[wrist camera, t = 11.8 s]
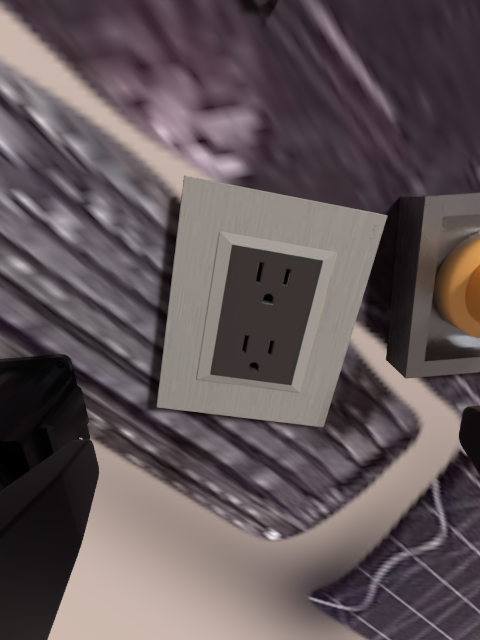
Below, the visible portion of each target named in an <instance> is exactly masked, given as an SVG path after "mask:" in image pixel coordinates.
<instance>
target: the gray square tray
mask: <svg viewBox="0 0 480 640" xmlns="http://www.w3.org/2000/svg"><path fill="white" fill-rule="evenodd" d="M479 232H480V192H467V193H451V194H436V195H421V196H406V197H400V206H399V217H398V229H397V240H396V251H395V263H394V274H393V286H392V297H391V309H390V320H389V332H388V343H387V355H386V360H387V361H388V362H389V363H390V364H391V365H392V366H393V367H394V368H395V369H396V370H397V371H398V372H400V373H401V374H402V375H403V376H404V377H405V378H416V377H428V376H440V375H452V374H464V373H476V372H480V339H479V338H476V337H473V336H471V335H469V334H467V333H465V332H463V331H462V330H460V329H458V328H456V327H454V326H453V325H451V324H449V323H448V322H447V321H446V320H445V319H444V318H443V317H442V316H441V314H440V313H439V311H438V309H437V306H436V303H435V297H434V287H435V281H436V278H437V274H438V272H439V269H440V267H441V265H442V264H443V262H444V260H445V259H446V257H447V256H448V255H449V254H450V252H451V251H452V250H453V249H454V248H455V247H456V246H457V245H459V244H460V243H461V242H462V241H464V240H465V239H467V238H469V237H470V236H472V235H474V234H477V233H479Z"/></svg>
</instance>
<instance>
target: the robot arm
mask: <svg viewBox="0 0 480 640" xmlns="http://www.w3.org/2000/svg"><path fill="white" fill-rule="evenodd" d="M59 361H62V362H64V364H65V366H63V365H61V364H60V363H59ZM88 422H89V419H88V415H87V411H86V406H85V402H84V398H83V394H82V390H81V388H80V387H79V386H78V385H77V382H76V378H75V374H74V370H73V366H72V362H71V359H70V358H69V357H68V356H66V355H63V354H60V355H47V356H34V357H21V358H9V359H0V640H47V639H48V636H49V634H50V631H51V628H52V625H53V623H54V620H55V617H56V614H57V611H58V609H59V606H60V603H61V600H62V597H63V595H64V592H65V589H66V586H67V583H68V581H69V578H70V575H71V572H72V570H73V567H74V564H75V561H76V558H77V556H78V553H79V549H80V547H81V544H82V540H83V536H84V533H85V529H86V524H87V521H88V517H89V513H90V509H91V505H92V501H93V497H94V493H95V489H96V484H97V480H98V476H99V466H98V462H97V458H96V454H95V450H94V446H93V443H92V441H91V440H89V439H90V435H89V431H88V426H87V424H88ZM79 438H83V439H82V440H81V439H79ZM459 440H460V443H461V446H462V447H463V449H464V451H465V452H466V454H467V455H468V457H469V459H470V460H471V462H472V463H473V465H474V467H475V468H476V470H477V471H478V473H479V475H480V406H471V407H467V408H465V409H464V411H463V414H462V420H461V425H460V431H459Z"/></svg>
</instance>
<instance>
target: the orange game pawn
mask: <svg viewBox="0 0 480 640" xmlns="http://www.w3.org/2000/svg"><path fill="white" fill-rule="evenodd" d="M434 297H435V303H436V306H437V309H438V311H439V313H440V314H441V316H442V317H443V318H444V319H445V320H446V321H447V322H448V323H449V324H451V325H453V326H454V327H456V328H458V329H460V330H462V331H463V332H465V333H467V334H469V335H471V336H473V337H476V338H479V339H480V232H479V233H477V234H474V235H472V236H470V237H469V238H467V239H465V240H464V241H462V242H461V243H460V244H459V245H457V246H456V247H455V248H454V249H453V250H452V251H451V252H450V254H449V255H448V256H447V257H446V259H445V260H444V262H443V264H442V265H441V267H440V269H439V272H438V274H437V278H436V281H435V287H434Z"/></svg>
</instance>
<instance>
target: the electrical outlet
mask: <svg viewBox="0 0 480 640" xmlns="http://www.w3.org/2000/svg"><path fill="white" fill-rule="evenodd" d="M387 216H388V215H383V214H378V213H373V212H367V211H362V210H357V209H352V208H347V207H342V206H337V205H332V204H327V203H321V202H316V201H311V200H306V199H301V198H296V197H291V196H286V195H280V194H275V193H270V192H265V191H260V190H255V189H250V188H245V187H240V186H234V185H229V184H224V183H219V182H214V181H209V180H204V179H199V178H193V177H188V176H184V181H183V189H182V197H181V206H180V214H179V223H178V231H177V239H176V248H175V256H174V265H173V273H172V281H171V290H170V298H169V307H168V315H167V323H166V332H165V340H164V349H163V357H162V365H161V374H160V382H159V391H158V399H157V407H158V408H167V409H175V410H183V411H192V412H200V413H208V414H217V415H225V416H233V417H242V418H250V419H258V420H267V421H275V422H283V423H292V424H300V425H308V426H317V427H324V424H325V421H326V417H327V414H328V411H329V408H330V404H331V401H332V398H333V394H334V391H335V388H336V384H337V381H338V378H339V374H340V371H341V368H342V365H343V361H344V358H345V355H346V351H347V348H348V345H349V341H350V338H351V335H352V331H353V328H354V325H355V321H356V318H357V315H358V312H359V308H360V305H361V302H362V298H363V295H364V292H365V288H366V285H367V282H368V278H369V275H370V272H371V269H372V265H373V262H374V259H375V255H376V252H377V249H378V245H379V242H380V239H381V235H382V232H383V229H384V226H385V222H386V219H387Z"/></svg>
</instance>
